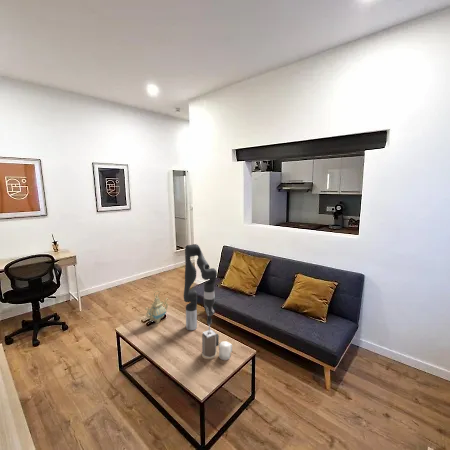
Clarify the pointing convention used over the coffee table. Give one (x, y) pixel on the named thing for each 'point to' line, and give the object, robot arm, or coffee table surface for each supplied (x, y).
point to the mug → (225, 350)
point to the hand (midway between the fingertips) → (209, 319)
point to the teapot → (157, 309)
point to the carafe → (209, 344)
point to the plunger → (209, 324)
